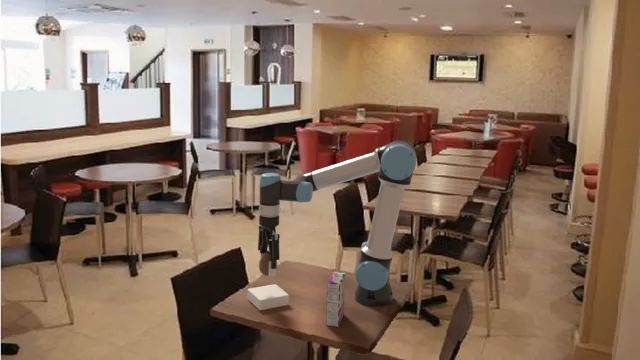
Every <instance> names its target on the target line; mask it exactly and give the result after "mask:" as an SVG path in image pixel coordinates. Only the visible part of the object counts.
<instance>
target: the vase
mask: <svg viewBox="0 0 640 360" xmlns="http://www.w3.org/2000/svg"><path fill="white" fill-rule="evenodd" d="M268 260H270V254H269V250H268V251H266V252H265V254H264V255H263V256H262V258H261V257H260V260H259V262H258V268H259V271H260V273H261V274H262V275H263V276H267V277H269V261H268ZM277 269H278V260H276V271H277Z"/></svg>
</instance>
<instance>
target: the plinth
mask: <svg viewBox="0 0 640 360" xmlns="http://www.w3.org/2000/svg"><path fill="white" fill-rule="evenodd" d="M246 291H247V293H246V299H247V300H248V301H249V302H250V303H251V304H252V305H254V306H255V307H256V309H257V310H258V311H263V310H265V311H266V310H270V309H273V308H280V307H284V306H289V305H290V294H289V293H287V292H286V290H285V291H284V290H283V289H282V288H281V287H280V286H278V285H277V284H276V283H275V284H268V285H264V286H263V285H262V286H256V287H250V288H247V290H246Z"/></svg>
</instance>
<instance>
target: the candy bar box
mask: <svg viewBox="0 0 640 360" xmlns="http://www.w3.org/2000/svg"><path fill="white" fill-rule="evenodd" d="M345 283H346V272H343V271H342V272H340V271H332V272H331V275H330V277H329V278H328V280H327V282H326V314H325V316H326V318H325V319H326V321H325V325H326V327H327V326H328V327H335V328H339V327H340V326H341V325H340V324H341V323H342V320H343V318H344V315H345V287H346V286H345Z"/></svg>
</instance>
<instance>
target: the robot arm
mask: <svg viewBox="0 0 640 360" xmlns="http://www.w3.org/2000/svg"><path fill="white" fill-rule="evenodd" d="M416 166H417V152H416V150H415V147H414V146H413V145H412V144H411V143H410V142H408V141H406V140H403V139H401V140H400V139H399V140H394V141H392V142H390V143H387V144H386V145H383V146H379V147H377V148H375V150H374V151H373V152H370V153H367V154H363V155H360V156H356V157H355V158H350V159H347V160H344V161H341V162H338V163H335V164H332V165H329V166H325V167H321V168H320V169H316V170H313V171H309V172H303V173H300V174H298V175H297V176H296V177H295V178H294V179H293V180H283V179H281V178H282V177H281V175H280V174H278V173H275V172H267V173H266V172H265V173H262V174H261V175H260V177H259V178H260V179H259V186H258V187H259V206H258V210H259V213H258V214H259V215H258V216H259V217H258V224H259V226H258V242H257V251H259V254H260V259H261V258H262V256H263V255H264V254H265V252H266V251H269V254H270V260H268V261H269V276H268V278H273V277H277V270H276V260H277V261H280V260H281V259H280V234H279V233H277V230H276V228H277V226H279V225H280V210H281V209H280V208H281V204H280V202H281V201H285V202H287V201H288V202H296V203H301V204H302V203H310V202H311V201H312V199H313V193H314V192H317V191H318V190H319V191H320V190H323V189H325V188H329V187H332V186H335V185H338V184H341V183H345V182H348V181H352V180H355V179H359V178H361V177H365V176H369V175H373V174H375V173H378V176H377V178H378V180H379V181H380V186H379V189H378V190H379V192H378V196H377V200H376V203H375V208H374V211H373V216H372V220H371V225H370V230H369V233H368V238H367V241H364V242H362V244H361V247H360V254H359V259H358V263H357V267H356V268H355V279H356V280H355V281H356V282H357V285H356V288H355V291H354V295H353V296H354V300H355V301H356V302H358V303H360V304H363V305H365V306H371V307H373V306H374V307H381V306H382V307H383V306H388V305H390V304H392V302H393V300H394V299H393V298H394V294H393V290H392V289H393V288H392V286H391V282H390V279H391V276H390V274H391V266H392V265H391V264H392V261H393V257H394V254H393V253H392V243H393V240H394V235H395V230H396V227H397V226H396V225H397V222H398V218H399V213H400V210H401V205H402V201H403V197H404V193H405V189H406V188H408V187H409V186H410V185H411V182H412V178H413V175H414V170H415V169H416Z"/></svg>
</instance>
